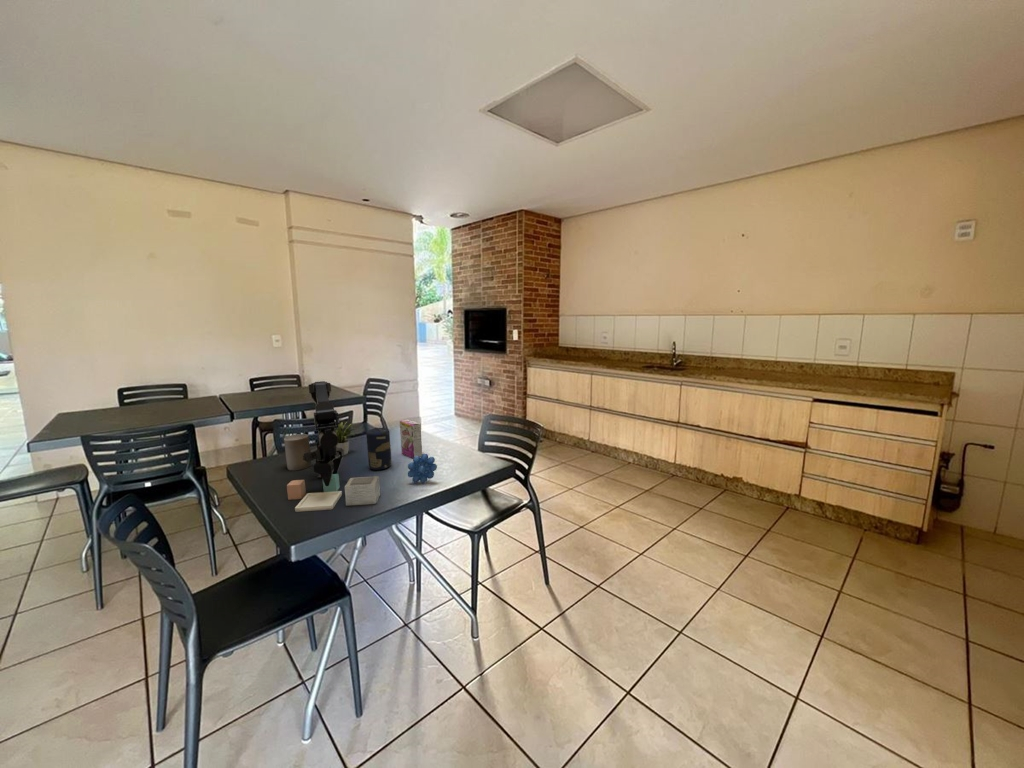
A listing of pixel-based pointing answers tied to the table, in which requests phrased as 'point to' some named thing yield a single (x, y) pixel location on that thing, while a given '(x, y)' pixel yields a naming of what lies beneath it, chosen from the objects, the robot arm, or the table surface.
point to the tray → (318, 501)
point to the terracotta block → (296, 489)
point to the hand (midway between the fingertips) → (331, 481)
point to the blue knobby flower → (422, 468)
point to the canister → (378, 448)
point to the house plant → (343, 437)
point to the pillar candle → (296, 451)
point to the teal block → (332, 484)
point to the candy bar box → (411, 438)
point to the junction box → (362, 491)
